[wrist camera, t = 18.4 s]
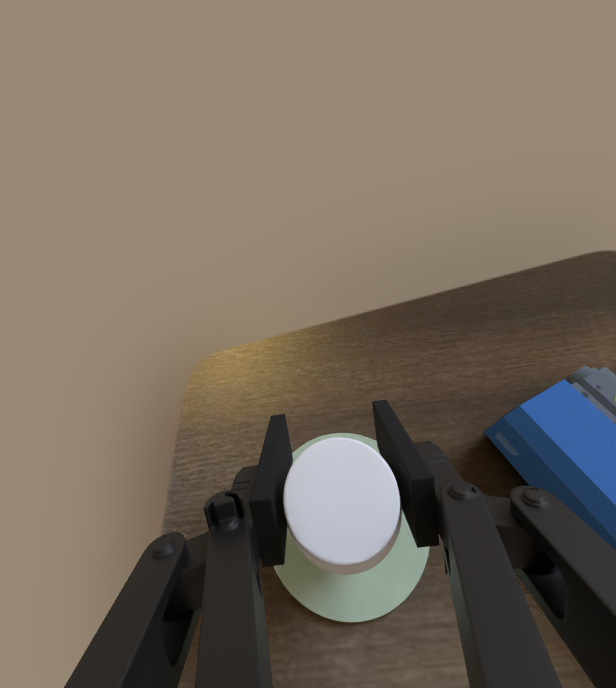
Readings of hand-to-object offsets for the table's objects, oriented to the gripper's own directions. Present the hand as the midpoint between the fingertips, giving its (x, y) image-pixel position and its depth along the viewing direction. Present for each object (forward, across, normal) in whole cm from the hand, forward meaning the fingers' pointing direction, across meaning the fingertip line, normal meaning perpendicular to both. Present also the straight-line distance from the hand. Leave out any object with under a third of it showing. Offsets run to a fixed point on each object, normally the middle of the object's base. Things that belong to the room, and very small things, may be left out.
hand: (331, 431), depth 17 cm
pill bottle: (0, 0, -5) cm, 5 cm away
